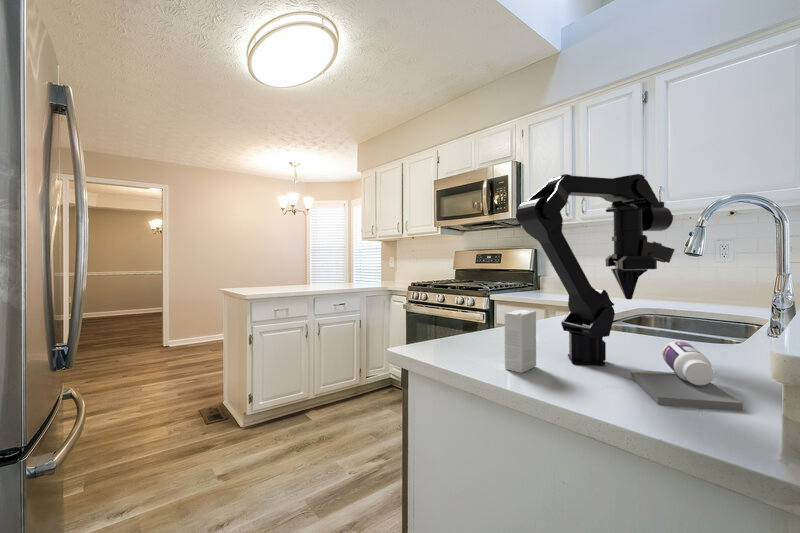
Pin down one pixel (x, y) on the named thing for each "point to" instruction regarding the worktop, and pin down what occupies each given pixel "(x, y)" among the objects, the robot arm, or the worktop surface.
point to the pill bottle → (688, 363)
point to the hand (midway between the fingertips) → (628, 299)
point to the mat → (683, 391)
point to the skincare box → (520, 340)
